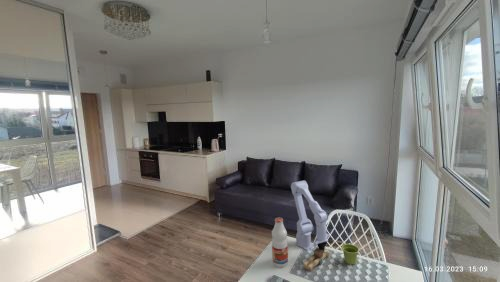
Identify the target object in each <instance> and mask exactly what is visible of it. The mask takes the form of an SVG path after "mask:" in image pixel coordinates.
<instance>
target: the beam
mask: <svg viewBox="0 0 500 282" xmlns="http://www.w3.org/2000/svg"><path fill="white" fill-rule="evenodd" d="M326 257H327V259H328V258H329V257H330V251H329V250H328V251H327V250H326V251H324V252H323V256H322V257H321V258H320V259H319V258H317V257H315V256H314V254H311V256H310V257H309V258H308V259H307V260H306V261H304V262H303V263H302V265H303V266H302V268H303V269H304V270H307V271H308V272H310V273H311V272H313V270H314V267H316V266H317V265H318V266H321V265H322V263H323V260H325V258H326Z"/></svg>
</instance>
